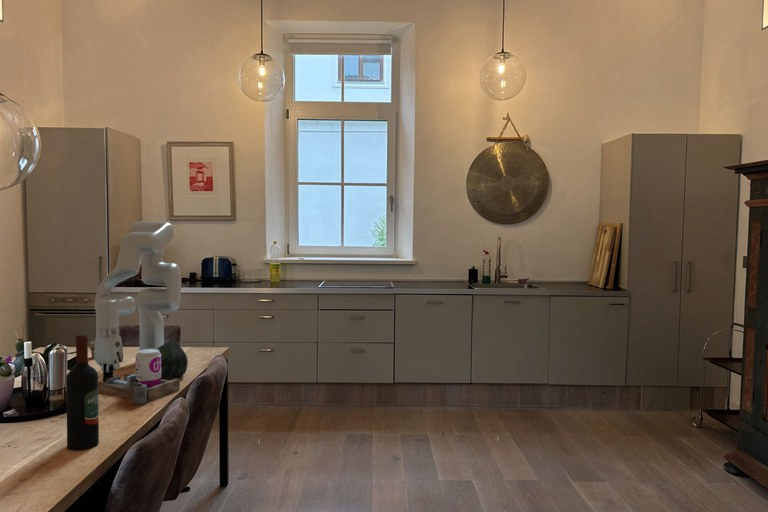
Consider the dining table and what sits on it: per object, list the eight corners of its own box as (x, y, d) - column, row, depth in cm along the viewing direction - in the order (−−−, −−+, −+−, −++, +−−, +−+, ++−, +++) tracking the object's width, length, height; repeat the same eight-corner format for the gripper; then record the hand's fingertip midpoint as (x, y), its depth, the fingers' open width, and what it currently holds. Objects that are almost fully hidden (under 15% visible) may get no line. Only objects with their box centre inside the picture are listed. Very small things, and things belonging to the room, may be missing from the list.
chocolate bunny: (97, 355, 244) (97, 332, 243) (112, 356, 242) (112, 334, 241) (87, 358, 239) (87, 335, 238) (102, 359, 237) (102, 336, 236)
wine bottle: (75, 439, 152) (73, 332, 150) (103, 439, 153) (102, 332, 151) (61, 451, 145) (59, 338, 143) (91, 450, 145) (90, 338, 143)
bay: (127, 380, 208) (127, 357, 207) (182, 390, 197) (182, 366, 197) (82, 394, 190) (82, 369, 190) (139, 406, 180) (139, 379, 179)
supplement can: (166, 391, 196) (166, 349, 195) (147, 397, 188) (147, 354, 187) (149, 388, 199) (149, 347, 198) (130, 394, 191) (130, 352, 190)
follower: (123, 380, 206) (123, 365, 205) (151, 386, 200) (151, 370, 200) (99, 388, 197) (99, 371, 196) (129, 394, 191) (129, 377, 191)
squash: (133, 364, 210) (153, 338, 205) (164, 357, 224) (183, 332, 219) (152, 393, 206) (173, 367, 201) (183, 384, 219) (202, 359, 215)
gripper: (131, 332, 201) (131, 381, 202) (102, 328, 207) (102, 376, 208) (113, 336, 194) (114, 387, 195) (84, 332, 200) (85, 381, 202)
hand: (108, 381), depth 202 cm, fingers closed
